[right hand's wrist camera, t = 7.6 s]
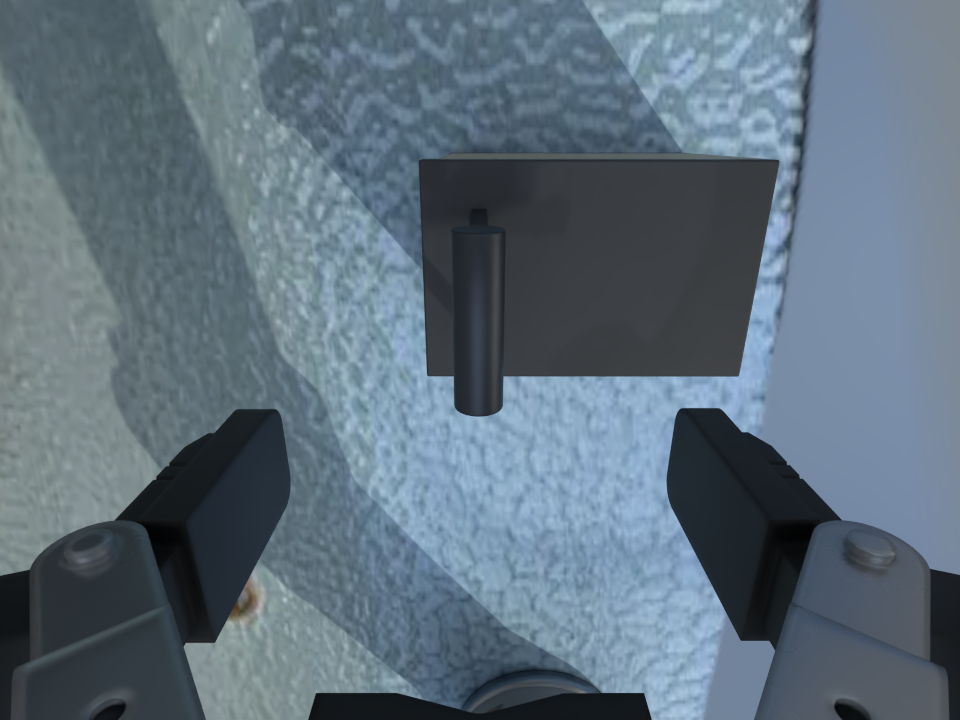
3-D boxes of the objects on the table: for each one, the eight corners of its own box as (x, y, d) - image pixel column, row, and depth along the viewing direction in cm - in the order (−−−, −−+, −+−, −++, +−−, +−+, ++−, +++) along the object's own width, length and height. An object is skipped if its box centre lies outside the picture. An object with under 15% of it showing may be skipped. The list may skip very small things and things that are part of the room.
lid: (429, 366, 29) (407, 462, 20) (421, 158, 25) (391, 169, 16) (728, 367, 29) (832, 462, 20) (766, 158, 25) (913, 169, 16)
